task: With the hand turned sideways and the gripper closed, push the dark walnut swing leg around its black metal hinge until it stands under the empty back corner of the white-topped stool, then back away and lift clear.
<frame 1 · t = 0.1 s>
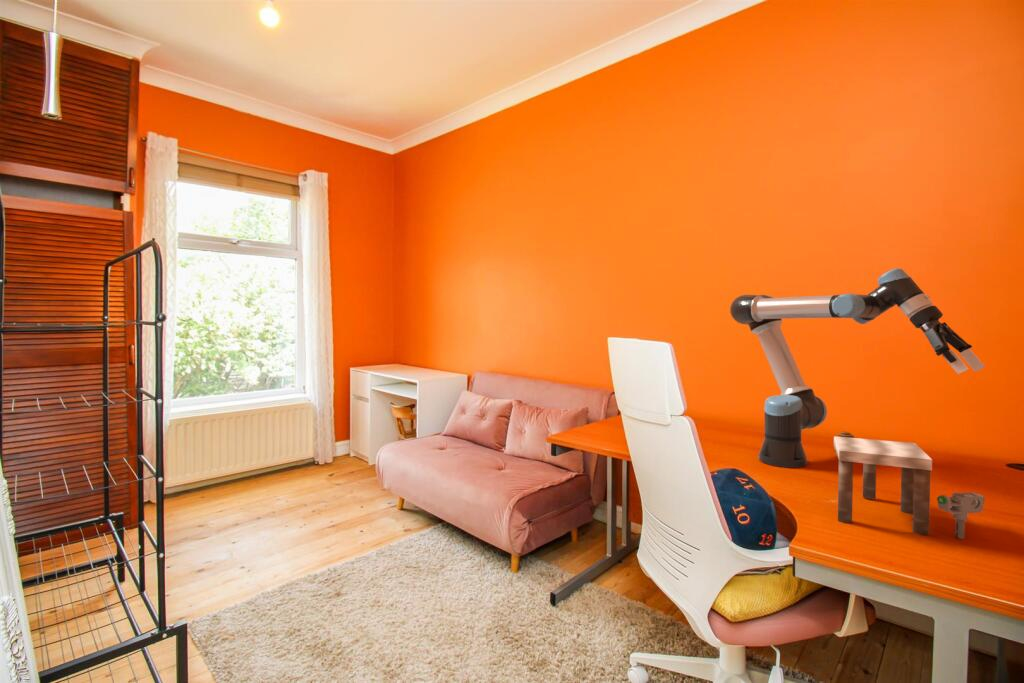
hand: (972, 370, 145), 36 cm above the table, tool tilted 35°, fingers open, 13 cm apart
ornamental finial: (845, 453, 192), on the table
stool: (877, 516, 129), on the table
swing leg: (871, 474, 138), point 8 cm above the table, hinge at 90.0°
mechanical component: (959, 538, 116), on the table
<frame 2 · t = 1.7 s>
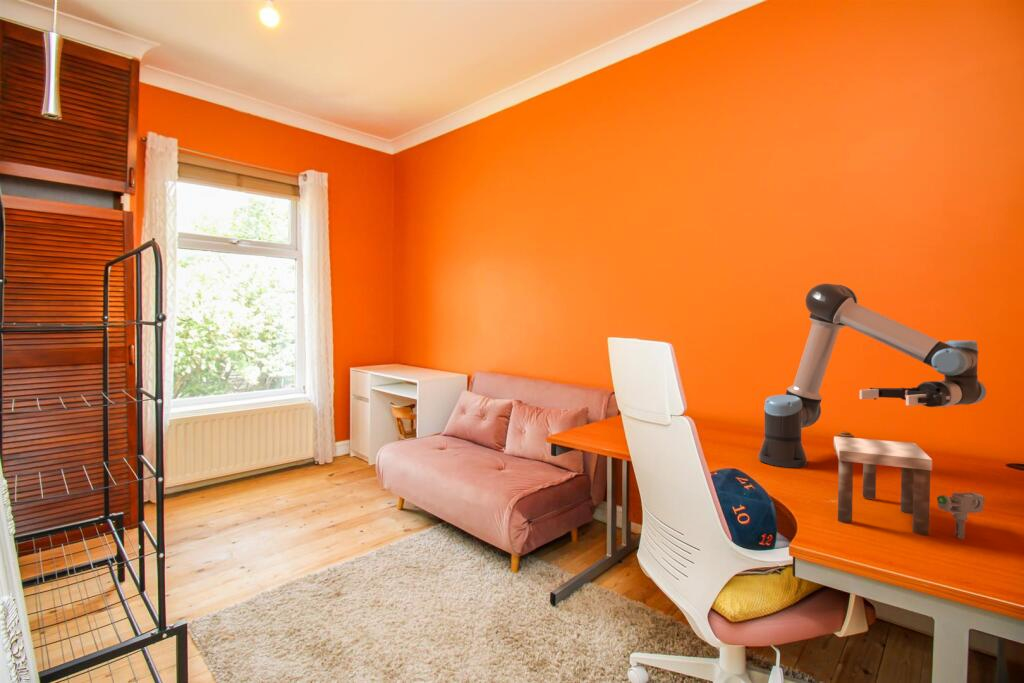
hand: (882, 397, 144), 28 cm above the table, tool horizontal, fingers open, 13 cm apart
nothing on the table moved.
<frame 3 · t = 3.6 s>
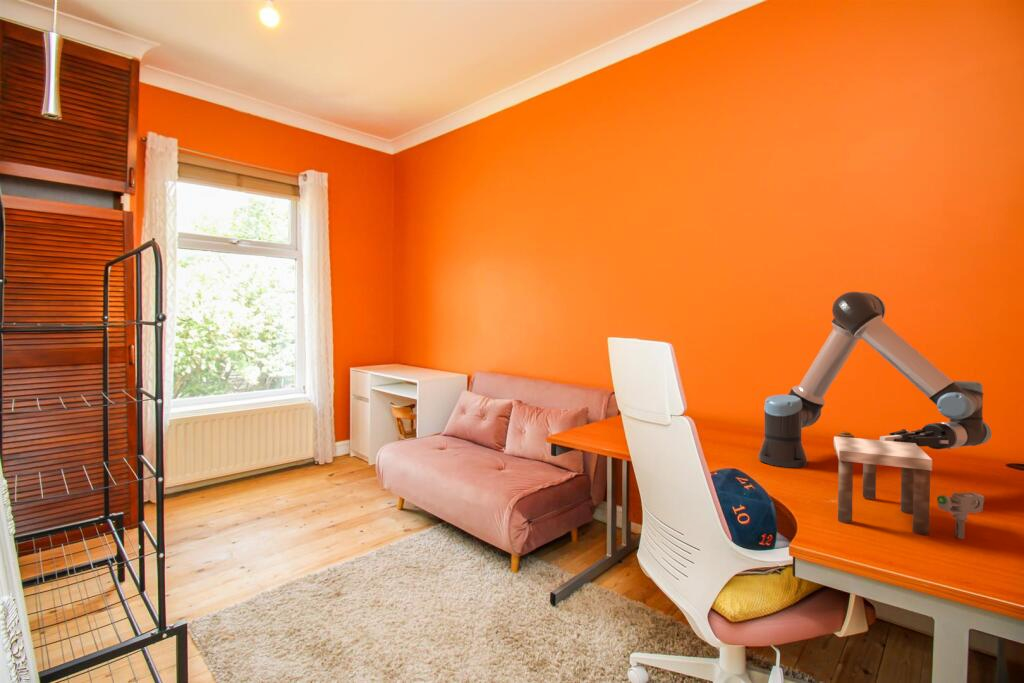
hand: (882, 441, 142), 16 cm above the table, tool horizontal, fingers closed
nothing on the table moved.
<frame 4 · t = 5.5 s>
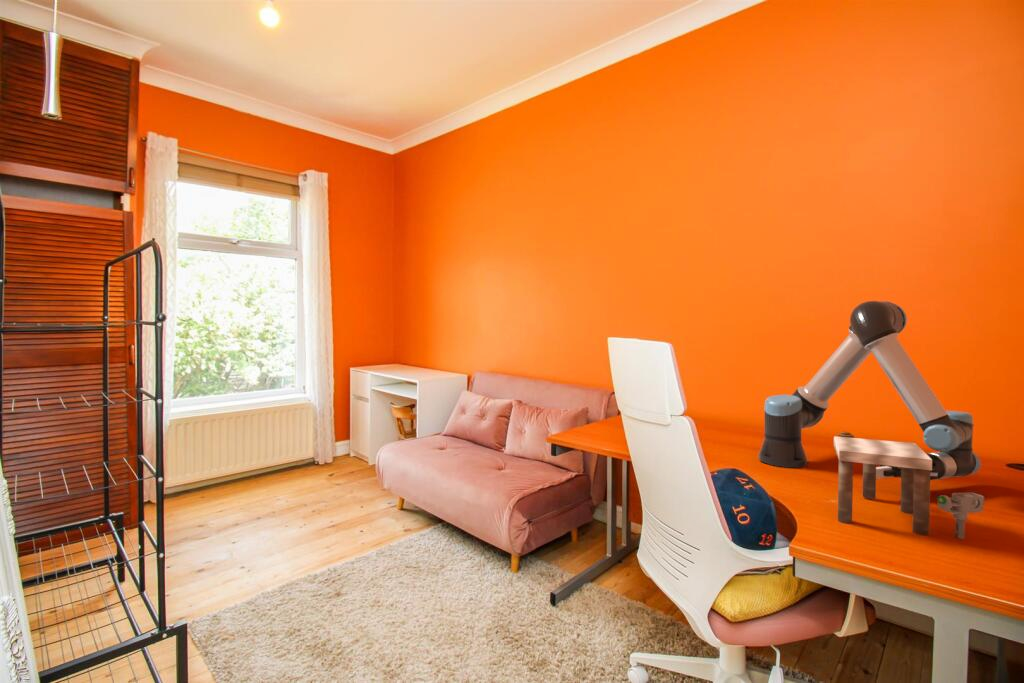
hand: (872, 473, 143), 7 cm above the table, tool horizontal, fingers closed
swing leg: (871, 474, 138), point 8 cm above the table, hinge at 89.8°, touching gripper
everything else where it was.
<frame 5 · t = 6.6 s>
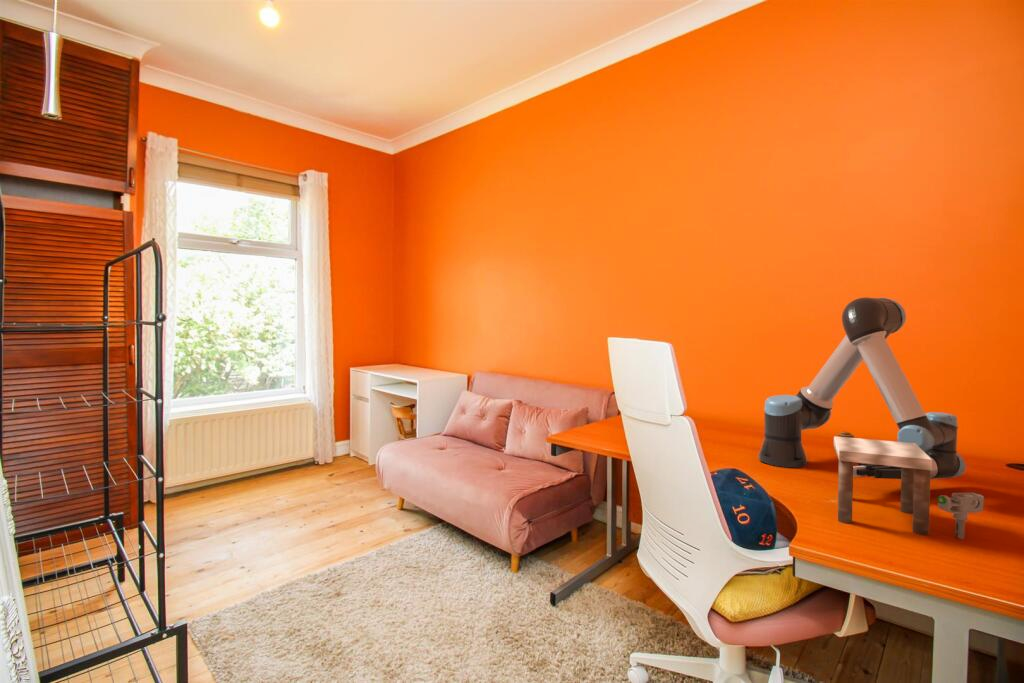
hand: (845, 472, 144), 7 cm above the table, tool horizontal, fingers closed
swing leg: (859, 474, 139), point 8 cm above the table, hinge at 41.8°, touching gripper
everything else where it was.
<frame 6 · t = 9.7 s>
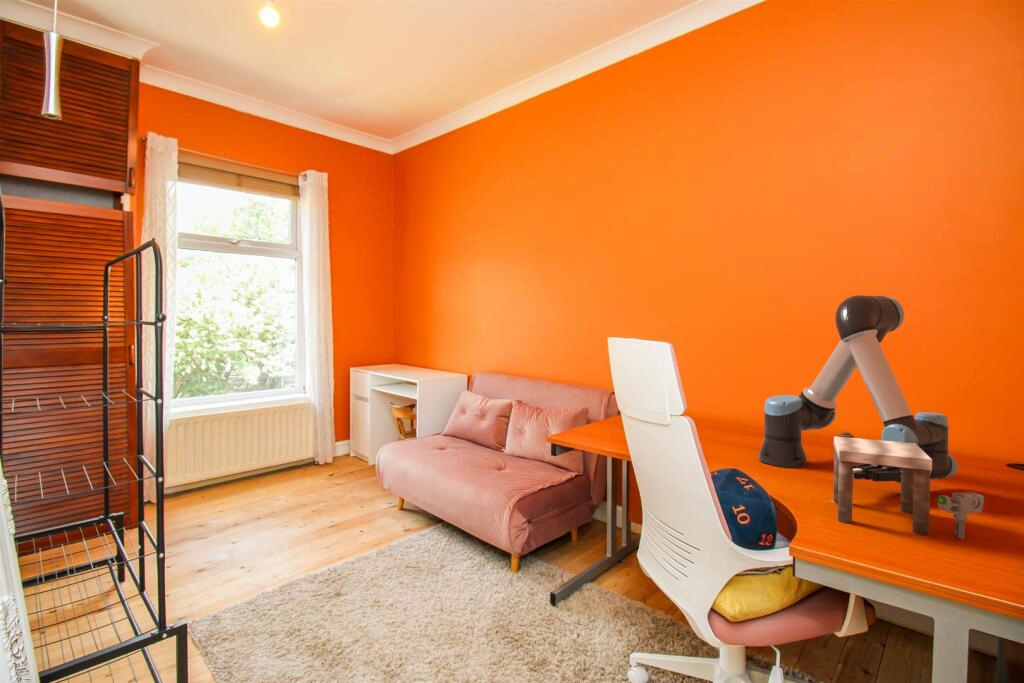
hand: (842, 475, 140), 7 cm above the table, tool horizontal, fingers closed
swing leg: (856, 476, 137), point 8 cm above the table, hinge at -1.1°
everything else where it was.
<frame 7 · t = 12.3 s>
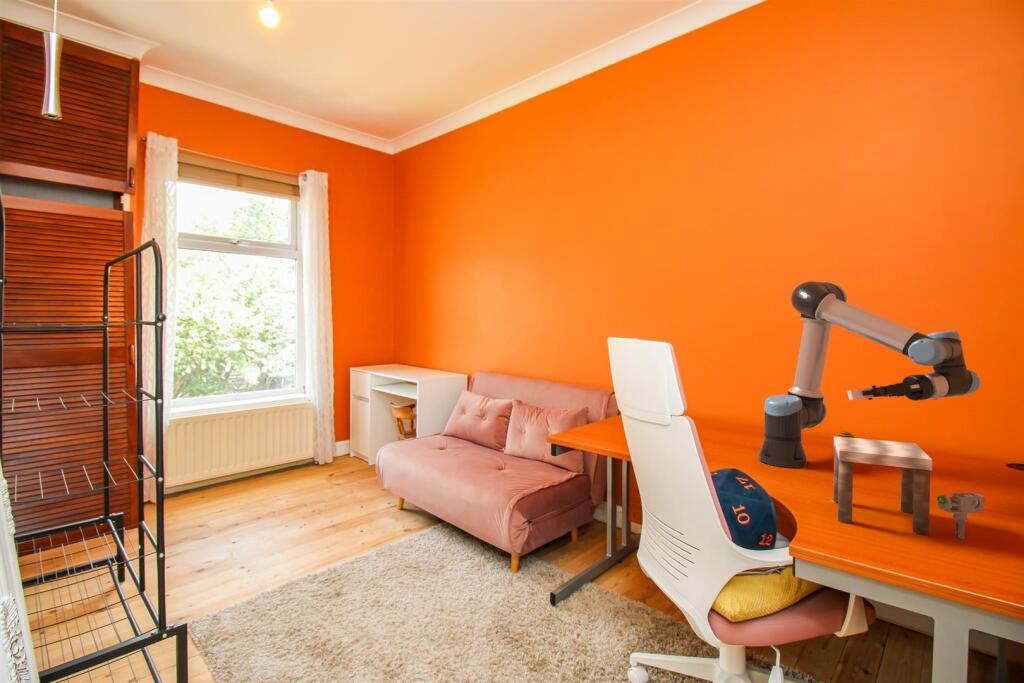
hand: (850, 395, 147), 29 cm above the table, tool horizontal, fingers closed
nothing on the table moved.
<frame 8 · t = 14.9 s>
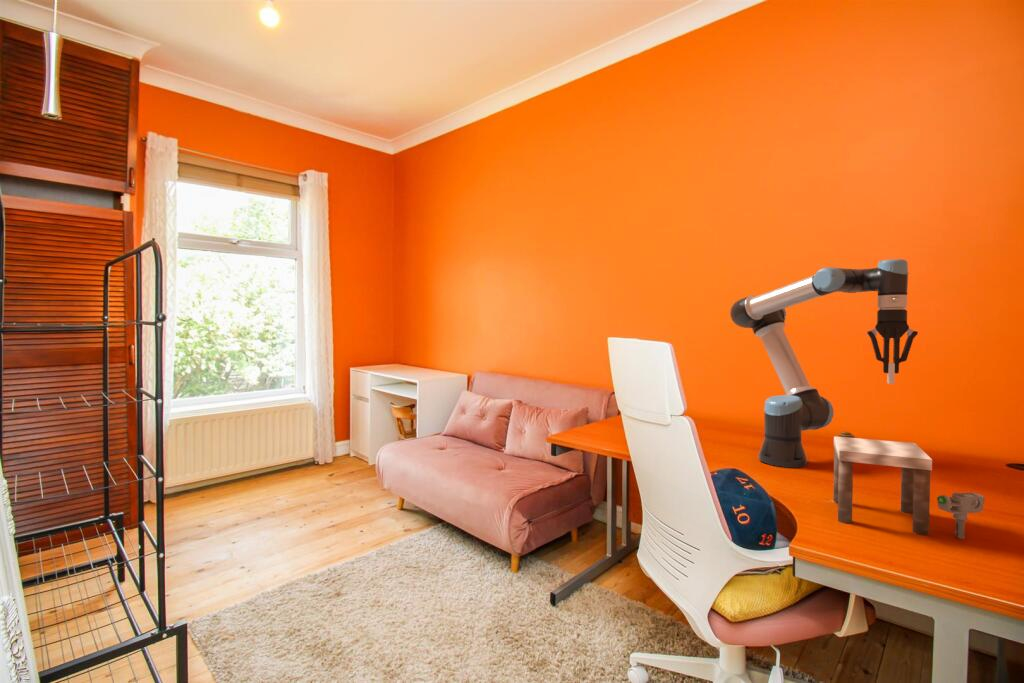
hand: (890, 383, 159), 30 cm above the table, tool pointing down, fingers closed
nothing on the table moved.
at the end: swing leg at -1° (first picture: +90°) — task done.
